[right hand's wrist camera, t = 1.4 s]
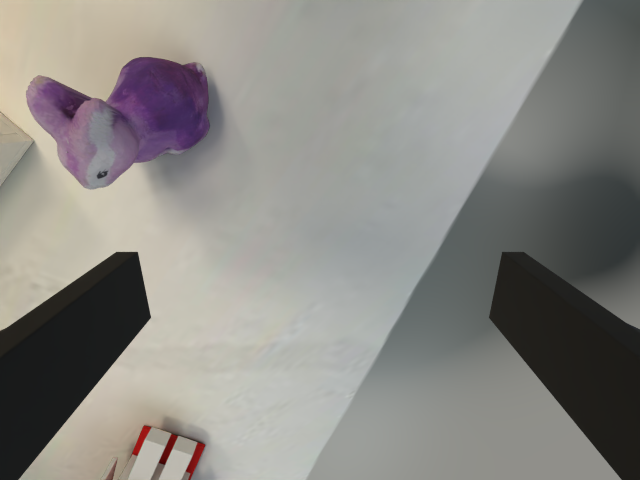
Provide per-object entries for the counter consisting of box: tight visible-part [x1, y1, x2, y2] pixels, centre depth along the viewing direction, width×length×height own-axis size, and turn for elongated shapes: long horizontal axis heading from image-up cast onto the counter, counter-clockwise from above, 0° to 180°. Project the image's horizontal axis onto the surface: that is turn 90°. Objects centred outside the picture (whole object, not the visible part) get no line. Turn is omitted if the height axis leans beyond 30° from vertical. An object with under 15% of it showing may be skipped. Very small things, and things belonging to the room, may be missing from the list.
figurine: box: [26, 57, 210, 189], centre depth 28 cm, size 9×10×15 cm
